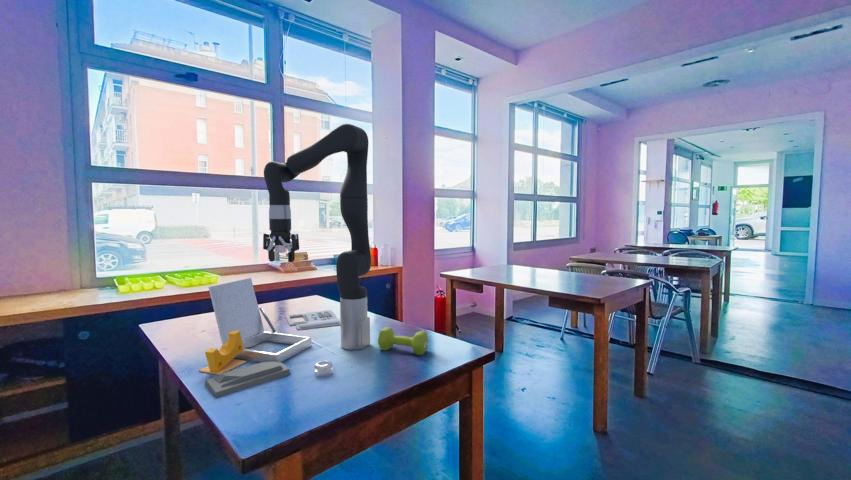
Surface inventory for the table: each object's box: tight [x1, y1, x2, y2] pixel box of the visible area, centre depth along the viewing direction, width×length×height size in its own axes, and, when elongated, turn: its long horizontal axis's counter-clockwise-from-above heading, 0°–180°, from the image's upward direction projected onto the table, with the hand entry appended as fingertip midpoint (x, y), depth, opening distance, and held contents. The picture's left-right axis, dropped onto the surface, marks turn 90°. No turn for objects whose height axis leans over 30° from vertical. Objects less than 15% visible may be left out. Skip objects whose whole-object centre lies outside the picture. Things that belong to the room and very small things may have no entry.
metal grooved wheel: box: [314, 360, 334, 377], centre depth 114 cm, size 5×3×5 cm
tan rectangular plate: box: [198, 358, 247, 376], centre depth 118 cm, size 8×10×1 cm
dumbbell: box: [377, 326, 429, 356], centre depth 131 cm, size 16×8×7 cm, turn 69°
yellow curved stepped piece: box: [204, 331, 244, 372], centre depth 119 cm, size 12×4×6 cm, turn 168°
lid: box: [207, 277, 265, 346], centre depth 135 cm, size 20×18×1 cm
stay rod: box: [258, 306, 276, 332], centre depth 143 cm, size 7×1×10 cm, turn 70°
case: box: [233, 330, 312, 363], centre depth 132 cm, size 20×19×3 cm
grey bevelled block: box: [204, 360, 292, 398], centre depth 110 cm, size 10×20×4 cm, turn 134°
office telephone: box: [285, 309, 341, 331], centre depth 167 cm, size 23×3×20 cm
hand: (281, 261), depth 145 cm, fingers open, 8 cm apart
